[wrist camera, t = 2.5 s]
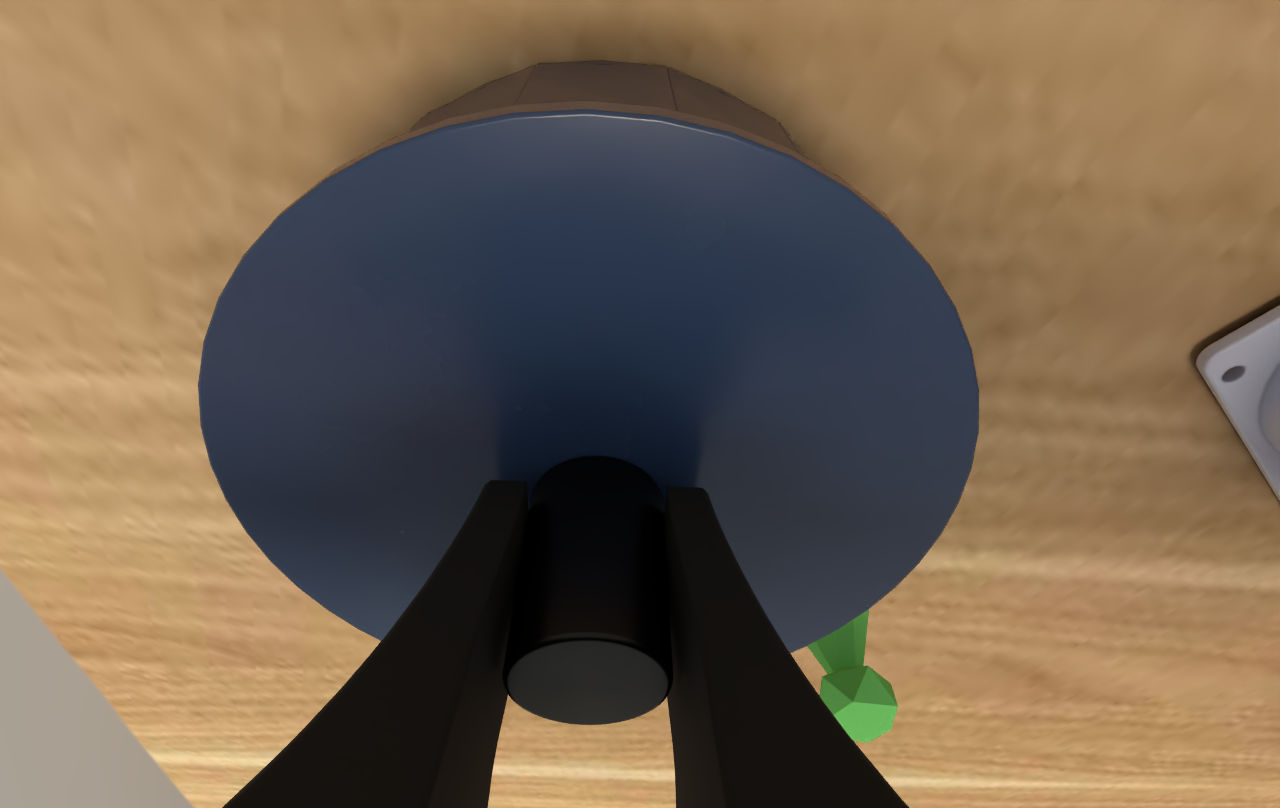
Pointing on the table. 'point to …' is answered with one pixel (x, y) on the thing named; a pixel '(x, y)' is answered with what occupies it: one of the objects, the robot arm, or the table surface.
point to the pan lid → (589, 383)
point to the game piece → (854, 683)
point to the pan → (614, 95)
